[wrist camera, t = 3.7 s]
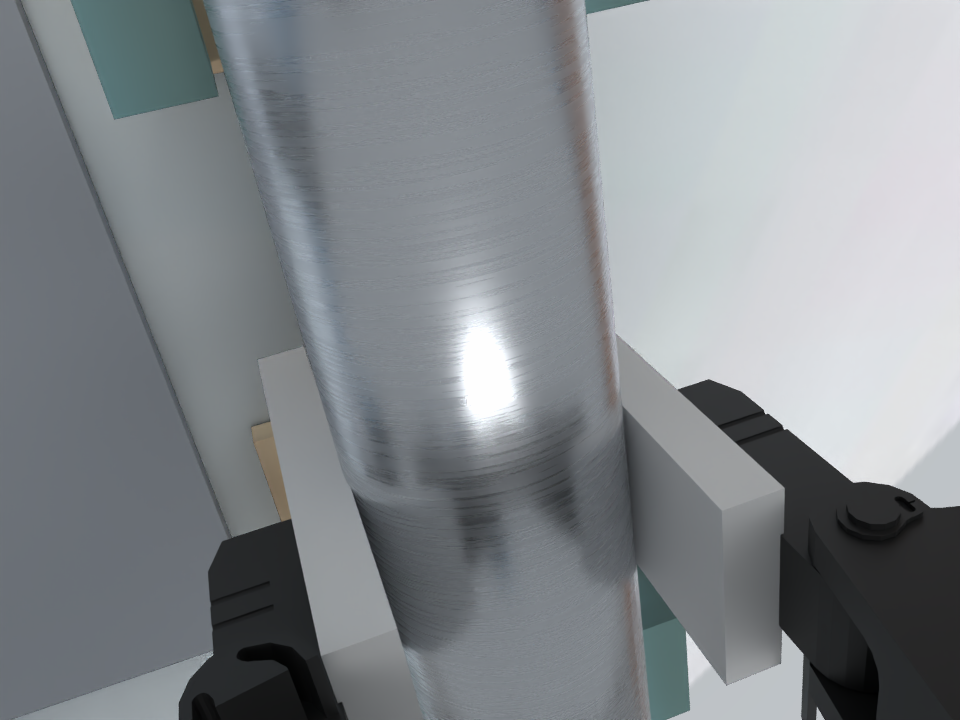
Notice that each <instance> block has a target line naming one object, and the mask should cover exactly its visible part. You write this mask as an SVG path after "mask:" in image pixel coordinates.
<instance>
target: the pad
mask: <svg viewBox="0 0 960 720" xmlns="http://www.w3.org/2000/svg"><path fill="white" fill-rule="evenodd" d="M231 538H232V537H231V535H230V532H229V529H228V527H227V524H226V522H225V519H224V517H223V514H222V512H221V509H220V507H219V504H218V502H217V499H216V496H215V494H214V491H213V489H212V486H211V484H210V481H209V479H208V476H207V474H206V471H205V468H204V466H203V463H202V461H201V458H200V456H199V453H198V451H197V448H196V446H195V443H194V441H193V438H192V435H191V433H190V430H189V428H188V425H187V423H186V420H185V418H184V415H183V413H182V410H181V408H180V405H179V402H178V400H177V397H176V395H175V392H174V390H173V387H172V385H171V382H170V380H169V377H168V374H167V372H166V369H165V367H164V364H163V362H162V359H161V357H160V354H159V352H158V349H157V347H156V344H155V341H154V339H153V336H152V334H151V331H150V329H149V326H148V324H147V321H146V319H145V316H144V314H143V311H142V308H141V306H140V303H139V301H138V298H137V296H136V293H135V291H134V288H133V286H132V283H131V280H130V278H129V275H128V273H127V270H126V268H125V265H124V263H123V260H122V258H121V255H120V253H119V250H118V247H117V245H116V242H115V240H114V237H113V235H112V232H111V230H110V227H109V225H108V222H107V220H106V217H105V214H104V212H103V209H102V207H101V204H100V202H99V199H98V197H97V194H96V192H95V189H94V186H93V184H92V181H91V179H90V176H89V174H88V171H87V169H86V166H85V164H84V161H83V159H82V156H81V153H80V151H79V148H78V146H77V143H76V141H75V138H74V136H73V133H72V131H71V128H70V126H69V123H68V120H67V118H66V115H65V113H64V110H63V108H62V105H61V103H60V100H59V98H58V95H57V92H56V90H55V87H54V85H53V82H52V80H51V77H50V75H49V72H48V70H47V67H46V65H45V62H44V59H43V57H42V54H41V52H40V49H39V47H38V44H37V42H36V39H35V37H34V34H33V32H32V29H31V26H30V24H29V21H28V19H27V16H26V14H25V11H24V9H23V6H22V4H21V1H20V0H0V720H12V719H14V718H17V717H20V716H23V715H26V714H29V713H32V712H35V711H38V710H41V709H44V708H47V707H50V706H52V705H55V704H58V703H61V702H64V701H67V700H70V699H73V698H76V697H79V696H82V695H85V694H87V693H90V692H93V691H96V690H99V689H102V688H105V687H108V686H111V685H114V684H117V683H120V682H122V681H125V680H128V679H131V678H134V677H137V676H140V675H143V674H146V673H149V672H152V671H155V670H158V669H160V668H163V667H166V666H169V665H172V664H175V663H178V662H181V661H184V660H187V659H190V658H193V657H195V656H198V655H201V654H204V653H207V652H210V651H213V640H212V631H213V628H212V625H211V611H210V607H211V603H210V596H209V582H208V570H209V568H210V566H211V564H212V562H213V560H214V557H215V555H216V553H217V551H218V549H219V547H220V544H221V542H222V541H224V540H227V539H231Z"/></svg>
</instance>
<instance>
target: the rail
mask: <svg viewBox="0 0 960 720" xmlns="http://www.w3.org/2000/svg"><path fill="white" fill-rule="evenodd" d="M203 3H204V6H205V9H206V13H207V16H208V19H209V23H210V26H211V30H212V33H213V36H214V40H215V43H216V47H217V50H218V53H219V57H220V60H221V63H222V67H223V70H224V74H225V77H226V80H227V84H228V87H229V90H230V94H231V97H232V101H233V104H234V107H235V111H236V114H237V118H238V121H239V124H240V128H241V131H242V134H243V138H244V141H245V145H246V148H247V151H248V155H249V158H250V161H251V165H252V168H253V172H254V175H255V178H256V182H257V185H258V189H259V192H260V195H261V199H262V202H263V205H264V209H265V212H266V216H267V219H268V222H269V226H270V229H271V232H272V236H273V239H274V243H275V246H276V249H277V253H278V256H279V260H280V263H281V266H282V270H283V273H284V276H285V280H286V283H287V287H288V290H289V293H290V297H291V300H292V303H293V307H294V310H295V314H296V317H297V320H298V324H299V327H300V331H301V334H302V337H303V341H304V344H305V347H306V351H307V354H308V358H309V361H310V364H311V368H312V371H313V374H314V378H315V381H316V385H317V388H318V391H319V395H320V398H321V402H322V405H323V408H324V412H325V415H326V418H327V422H328V425H329V429H330V432H331V435H332V439H333V442H334V445H335V449H336V452H337V456H338V459H339V462H340V466H341V469H342V473H343V475H344V477H345V479H346V481H347V483H348V485H349V486H350V487H351V490H352V493H353V496H354V499H355V502H356V505H357V508H358V511H359V514H360V517H361V520H362V524H363V527H364V530H365V533H366V536H367V539H368V542H369V545H370V548H371V551H372V554H373V557H374V560H375V563H376V566H377V569H378V572H379V575H380V578H381V581H382V584H383V587H384V590H385V593H386V596H387V599H388V602H389V605H390V608H391V611H392V614H393V617H394V620H395V623H396V626H397V629H398V633H399V636H400V640H401V643H402V647H403V650H404V653H405V657H406V660H407V664H408V667H409V671H410V674H411V678H412V681H413V685H414V688H415V692H416V695H417V698H418V702H419V705H420V709H421V712H422V716H423V719H424V720H651V715H650V704H649V694H648V683H647V672H646V661H645V650H644V639H643V628H642V617H641V606H640V595H639V584H638V573H637V562H636V551H635V541H634V530H633V519H632V508H631V497H630V486H629V475H628V464H627V453H626V442H625V431H624V420H623V409H622V399H621V388H620V377H619V366H618V355H617V344H616V333H615V322H614V311H613V300H612V289H611V278H610V267H609V257H608V246H607V235H606V224H605V213H604V202H603V191H602V180H601V169H600V158H599V147H598V136H597V125H596V114H595V104H594V93H593V82H592V71H591V60H590V49H589V38H588V27H587V16H586V5H585V0H203Z"/></svg>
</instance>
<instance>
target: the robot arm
mask: <svg viewBox="0 0 960 720" xmlns="http://www.w3.org/2000/svg"><path fill="white" fill-rule="evenodd" d="M616 344H617V355H618V366H619V377H620V388H621V399H622V409H623V420H624V431H625V442H626V453H627V464H628V475H629V486H630V497H631V508H632V519H633V530H634V541H635V551H636V562H637V565H638V566H639V567H640V569H641V570H642V571H643V573H644V574H645V576H646V577H647V578H648V580H649V581H650V582H651V584H652V585H653V586H654V588H655V589H656V591H657V592H658V593H659V595H660V596H661V597H662V599H663V600H664V601H665V603H666V604H667V605H668V607H669V608H670V610H671V611H672V612H673V614H674V615H675V616H676V618H677V619H678V620H679V622H680V623H681V625H682V626H683V627H684V629H685V630H686V631H687V633H688V634H689V635H690V637H691V638H692V639H693V641H694V642H695V644H696V645H697V646H698V648H699V649H700V650H701V652H702V653H703V654H704V656H705V657H706V659H707V660H708V661H709V663H710V664H711V665H712V667H713V668H714V669H715V671H716V672H717V673H718V675H719V676H720V678H721V679H722V680H723V682H724V683H725V684H726V685H729V684H732V683H734V682H737V681H739V680H741V679H744V678H746V677H749V676H751V675H754V674H756V673H759V672H761V671H763V670H766V669H768V668H771V667H773V666H776V665H778V664H781V647H782V642H781V641H782V630H783V631H784V632H785V633H786V634H787V635H788V636H789V638H790V639H791V640H792V641H793V642H794V643H795V644H796V646H797V647H798V648H799V649H800V650H801V651H802V652H803V654H804V660H803V686H802V688H803V689H802V711H801V712H802V713H801V717H802V720H816V710H817V707H818V709H819V711H820V712H821V714H822V716H823V717H824V719H825V720H960V506H956V507H946V508H930V507H929V506H928V505H926V504H925V503H923V502H922V501H921V500H919V499H918V498H916V497H915V496H914V495H913V494H911V493H908V492H906V491H903V490H901V489H898V488H895V487H893V486H890V485H884V484H877V483H870V482H858V483H853V482H851V481H850V480H849V479H848V478H846V477H845V476H844V475H843V474H842V473H840V472H839V471H838V470H837V469H835V468H834V467H833V466H832V465H831V464H829V463H828V462H827V461H826V460H824V459H823V458H822V457H821V456H819V455H818V454H817V453H816V452H815V451H813V450H812V449H811V448H810V447H808V446H807V445H806V444H805V443H804V442H802V441H801V440H800V439H799V438H797V437H796V436H795V435H794V434H793V433H791V432H790V431H789V430H788V429H786V430H784V429H783V426H782V424H780V423H779V422H778V421H777V420H775V419H774V418H773V417H772V416H770V415H769V414H765V413H764V410H763V409H762V408H761V407H759V406H758V405H757V404H756V403H755V402H753V401H752V400H751V399H750V398H748V397H747V396H746V395H745V394H744V393H742V392H741V391H738V390H736V389H733V388H730V387H728V386H725V385H722V384H720V383H717V382H714V381H712V380H709V379H708V380H705V381H702V382H699V383H696V384H693V385H690V386H687V387H684V388H681V389H678V390H677V389H676V388H675V387H674V386H673V385H671V384H670V383H669V382H668V381H667V380H666V379H665V378H664V377H663V376H662V375H660V374H659V373H658V372H657V371H656V370H655V369H654V368H653V367H652V366H651V365H650V364H648V363H647V362H646V361H645V360H644V359H643V358H642V357H641V356H640V355H639V354H638V353H636V352H635V351H634V350H633V349H632V348H631V347H630V346H629V345H628V344H627V343H625V342H624V341H623V340H622V339H621V338H620V337H619V336H618V335H617V334H616ZM257 361H258V366H259V370H260V375H261V380H262V384H263V389H264V394H265V398H266V403H267V408H268V412H269V417H270V422H271V426H272V431H273V435H274V440H275V445H276V449H277V454H278V459H279V463H280V468H281V473H282V477H283V482H284V487H285V491H286V496H287V501H288V505H289V510H290V514H291V519H288V520H285V521H282V522H279V523H276V524H273V525H270V526H267V527H264V528H261V529H258V530H255V531H252V532H249V533H246V534H243V535H240V536H237V537H234V538H231V539H227V540H224V541H222V542H221V544H220V547H219V549H218V551H217V553H216V555H215V557H214V560H213V562H212V564H211V566H210V568H209V570H208V582H209V596H210V603H211V607H210V611H211V625H212V628H213V631H212V640H213V654H214V656H212V657H210V658H209V659H208V660H207V661H206V662H205V663H204V664H203V665H202V666H201V668H200V669H199V670H198V671H197V672H196V673H195V674H194V675H193V676H192V677H191V679H190V680H189V682H188V684H187V686H186V688H185V691H184V693H183V695H182V697H181V699H180V702H179V720H424V719H423V716H422V712H421V709H420V705H419V702H418V698H417V695H416V692H415V688H414V685H413V681H412V678H411V674H410V671H409V667H408V664H407V660H406V657H405V653H404V650H403V647H402V643H401V640H400V636H399V633H398V629H397V626H396V623H395V620H394V617H393V614H392V611H391V608H390V605H389V602H388V599H387V596H386V593H385V590H384V587H383V584H382V581H381V578H380V575H379V572H378V569H377V566H376V563H375V560H374V557H373V554H372V551H371V548H370V545H369V542H368V539H367V536H366V533H365V530H364V527H363V524H362V520H361V517H360V514H359V511H358V508H357V505H356V502H355V499H354V496H353V493H352V490H351V487H350V486H349V485H348V483H347V481H346V479H345V477H344V475H343V473H342V469H341V466H340V462H339V459H338V456H337V452H336V449H335V445H334V442H333V439H332V435H331V432H330V429H329V425H328V422H327V418H326V415H325V412H324V408H323V405H322V402H321V398H320V395H319V391H318V388H317V385H316V382H315V379H314V376H313V373H312V370H311V367H310V364H309V361H308V358H307V355H306V351H305V348H304V346H302V347H299V348H295V349H292V350H288V351H285V352H281V353H278V354H274V355H271V356H267V357H264V358H261V359H257Z"/></svg>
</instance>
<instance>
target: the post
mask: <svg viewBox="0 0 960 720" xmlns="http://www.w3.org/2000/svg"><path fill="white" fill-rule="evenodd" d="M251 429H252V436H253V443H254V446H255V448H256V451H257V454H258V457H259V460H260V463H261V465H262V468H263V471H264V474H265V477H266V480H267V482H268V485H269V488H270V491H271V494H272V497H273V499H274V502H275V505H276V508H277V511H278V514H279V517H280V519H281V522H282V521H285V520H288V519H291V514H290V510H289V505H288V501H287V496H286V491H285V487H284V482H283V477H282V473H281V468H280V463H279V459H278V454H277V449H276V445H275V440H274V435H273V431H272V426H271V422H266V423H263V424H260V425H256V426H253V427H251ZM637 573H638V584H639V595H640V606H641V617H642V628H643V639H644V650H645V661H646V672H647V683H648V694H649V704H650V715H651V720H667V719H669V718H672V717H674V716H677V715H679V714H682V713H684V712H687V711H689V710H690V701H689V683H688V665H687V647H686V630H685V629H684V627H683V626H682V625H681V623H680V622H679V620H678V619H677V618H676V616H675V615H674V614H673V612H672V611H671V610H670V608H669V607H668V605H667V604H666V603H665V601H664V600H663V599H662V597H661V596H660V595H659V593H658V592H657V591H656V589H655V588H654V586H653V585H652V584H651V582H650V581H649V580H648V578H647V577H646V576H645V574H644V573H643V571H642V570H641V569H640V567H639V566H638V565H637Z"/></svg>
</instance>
